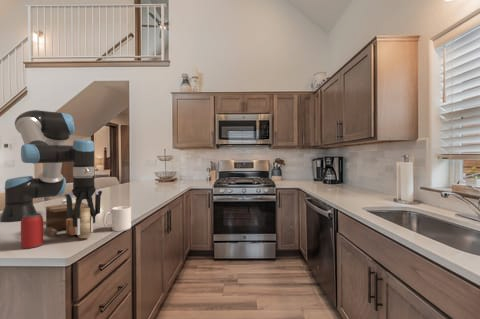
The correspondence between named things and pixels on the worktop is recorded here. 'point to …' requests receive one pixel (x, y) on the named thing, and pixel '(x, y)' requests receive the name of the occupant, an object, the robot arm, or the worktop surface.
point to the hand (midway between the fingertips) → (84, 232)
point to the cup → (119, 218)
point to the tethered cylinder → (84, 223)
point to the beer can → (31, 231)
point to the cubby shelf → (58, 217)
